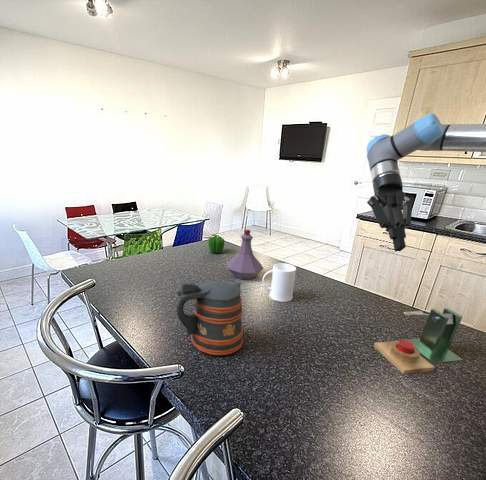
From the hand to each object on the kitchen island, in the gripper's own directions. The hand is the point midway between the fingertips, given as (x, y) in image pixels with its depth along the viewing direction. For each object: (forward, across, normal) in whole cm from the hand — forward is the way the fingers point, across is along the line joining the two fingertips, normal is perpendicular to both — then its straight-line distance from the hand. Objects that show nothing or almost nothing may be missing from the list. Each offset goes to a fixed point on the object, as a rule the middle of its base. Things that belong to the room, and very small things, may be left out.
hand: (400, 248), depth 81 cm
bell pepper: (-28, +53, -65) cm, 89 cm away
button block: (+30, +1, -7) cm, 30 cm away
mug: (+6, +29, -32) cm, 43 cm away
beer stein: (+27, +52, -10) cm, 59 cm away
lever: (+18, -9, -7) cm, 21 cm away
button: (+27, +1, -5) cm, 27 cm away
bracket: (+27, -9, -10) cm, 30 cm away
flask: (-8, +40, -45) cm, 61 cm away
